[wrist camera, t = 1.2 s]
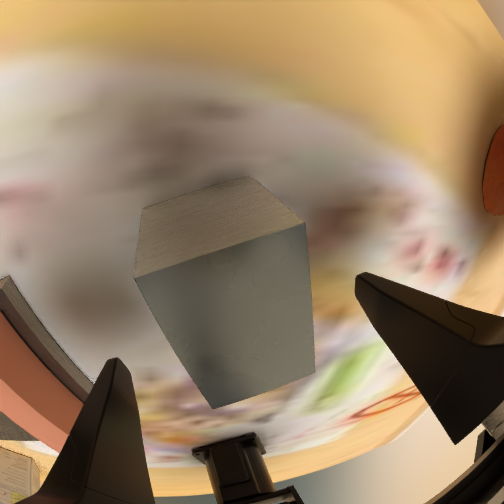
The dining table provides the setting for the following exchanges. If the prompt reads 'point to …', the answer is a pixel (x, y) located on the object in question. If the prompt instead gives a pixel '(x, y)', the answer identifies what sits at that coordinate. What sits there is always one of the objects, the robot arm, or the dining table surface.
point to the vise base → (37, 354)
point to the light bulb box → (17, 477)
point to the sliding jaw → (33, 392)
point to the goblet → (495, 175)
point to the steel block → (230, 288)
